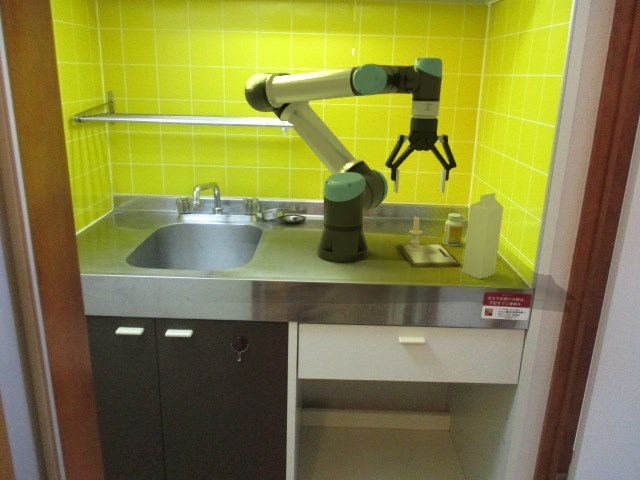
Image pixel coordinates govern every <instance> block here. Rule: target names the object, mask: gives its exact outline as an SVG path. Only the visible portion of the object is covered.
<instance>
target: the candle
mask: <svg viewBox="0 0 640 480" xmlns="http://www.w3.org/2000/svg"><path fill="white" fill-rule="evenodd" d="M408 233H410V234H411V239H409V243H410V245H407V246H406V249H407V250H409V251H422V250H423V247H422V246H420V245H418V244H421V241H420V234H423V231H422V230H420V217H418V216H414V218H413V229H410V230H409V232H408Z"/></svg>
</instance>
